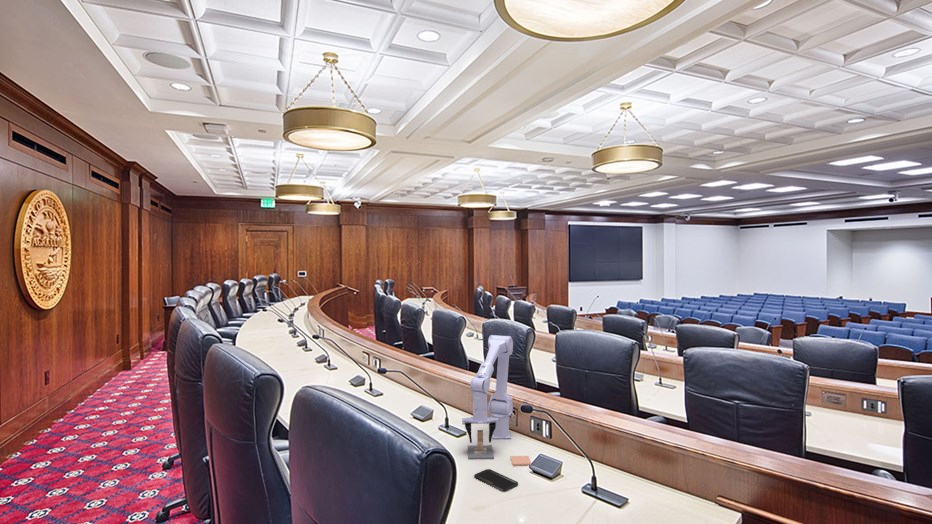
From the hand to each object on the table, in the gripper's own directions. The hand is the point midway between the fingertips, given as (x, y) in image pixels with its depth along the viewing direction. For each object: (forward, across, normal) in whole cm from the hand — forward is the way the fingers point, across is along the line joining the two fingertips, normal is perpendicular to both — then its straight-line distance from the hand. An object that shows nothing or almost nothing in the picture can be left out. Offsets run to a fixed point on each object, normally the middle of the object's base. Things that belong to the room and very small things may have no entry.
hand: (480, 441), depth 180 cm
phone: (+5, +4, -24) cm, 25 cm away
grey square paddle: (+4, 0, -1) cm, 4 cm away
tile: (+4, +15, -6) cm, 16 cm away
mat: (+4, 0, 0) cm, 4 cm away
